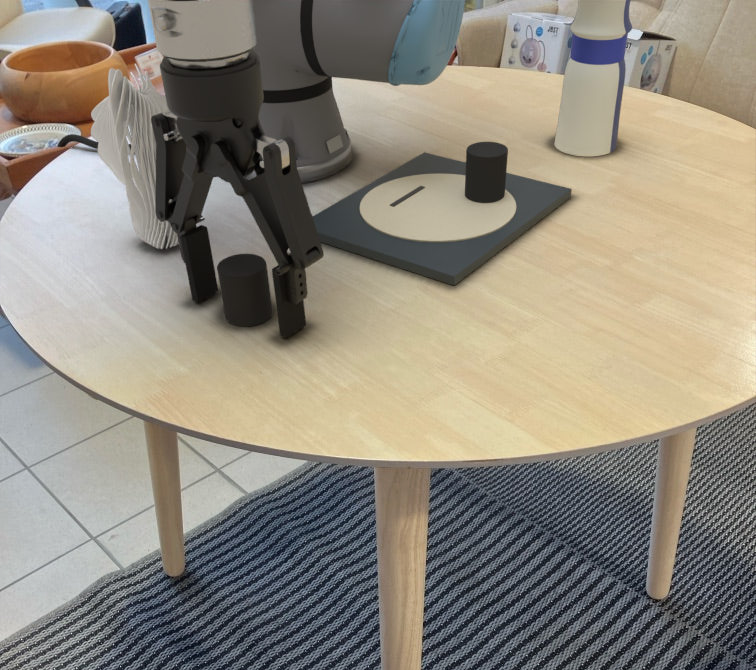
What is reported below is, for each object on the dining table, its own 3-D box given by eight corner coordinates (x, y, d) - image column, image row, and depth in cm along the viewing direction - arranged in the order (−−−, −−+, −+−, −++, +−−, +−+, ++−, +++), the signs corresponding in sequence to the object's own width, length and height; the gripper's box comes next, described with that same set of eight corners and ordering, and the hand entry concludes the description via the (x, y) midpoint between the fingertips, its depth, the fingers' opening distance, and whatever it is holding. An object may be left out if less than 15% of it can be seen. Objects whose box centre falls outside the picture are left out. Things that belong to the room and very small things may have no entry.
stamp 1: (215, 317, 79) (206, 268, 76) (247, 297, 82) (240, 248, 79) (250, 331, 77) (242, 281, 74) (282, 310, 80) (276, 261, 77)
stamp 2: (457, 197, 94) (458, 151, 91) (478, 183, 97) (480, 138, 93) (491, 206, 92) (494, 160, 89) (512, 192, 95) (515, 146, 91)
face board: (297, 234, 91) (295, 222, 91) (424, 160, 105) (424, 149, 104) (454, 285, 82) (454, 273, 82) (570, 197, 96) (572, 186, 95)
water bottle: (560, 128, 112) (586, -105, 95) (626, 137, 109) (665, -102, 92) (540, 150, 106) (564, -92, 89) (608, 160, 103) (646, -88, 86)
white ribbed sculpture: (174, 216, 96) (138, 39, 83) (218, 239, 91) (187, 55, 79) (109, 242, 91) (62, 59, 79) (153, 267, 87) (110, 77, 75)
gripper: (71, 43, 67) (134, 294, 83) (290, 94, 57) (316, 371, 72) (143, 20, 72) (190, 263, 87) (359, 63, 61) (370, 331, 76)
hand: (248, 312), depth 79 cm, fingers open, 10 cm apart
